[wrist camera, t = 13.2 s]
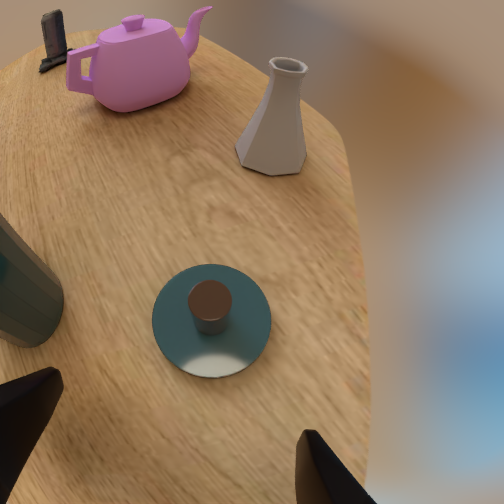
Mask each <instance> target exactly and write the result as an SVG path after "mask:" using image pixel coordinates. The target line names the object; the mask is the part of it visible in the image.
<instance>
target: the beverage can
mask: <svg viewBox="0 0 504 504" xmlns="http://www.w3.org/2000/svg"><path fill="white" fill-rule="evenodd" d="M41 24H42V30H43V36H44V42H45V48H46V53H47V58H45V59H43V60H42V64H41V65H40V68H39V70H40V71H39V72H43V71H45V70H48V68H49V67H52V66H54V65H55V64H57V65H58V63H60V64H62V63H64V61H65V60H66V61H67V52H69V51H72V50H73V49H72V48H71V49H68V50H67V43H66V38H65V31H64V23H63V14H62V12H61V11H60V10H55V11H52V12H50V13H47V14H45V15H43V17H42V20H41ZM74 50H75V49H74Z"/></svg>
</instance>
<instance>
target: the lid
mask: <svg viewBox="0 0 504 504" xmlns="http://www.w3.org/2000/svg"><path fill="white" fill-rule="evenodd" d="M152 326H153V332H154V336H155V339H156V342H157V344H158V346H159V348H160V350H161V351H162V352H163V354H164V355H165V356H166V357H167V358H168V360H169V361H170V362H171V363H173V364H174V365H175V366H176V367H178V368H179V369H181V370H183V371H184V372H187V373H189V374H191V375H194V376H198V377H203V378H222V377H227V376H231V375H233V374H236V373H238V372H240V371H242V370H244V369H245V368H247V367H248V366H249V365H251V364H252V363H253V362H254V361H255V360H256V359H257V358H258V357H259V355H260V354H261V352H262V351H263V349H264V347H265V346H266V344H267V341H268V338H269V335H270V330H271V313H270V308H269V305H268V302H267V299H266V297H265V295H264V294H263V292H262V291H261V289H260V288H259V286H258V285H257V284H256V283H255V282H254V281H253V280H252V279H251V278H249V277H248V276H247V275H245V274H244V273H242V272H240V271H238V270H236V269H234V268H231V267H228V266H224V265H217V264H205V265H199V266H194V267H191V268H188V269H186V270H184V271H182V272H180V273H179V274H177V275H176V276H174V277H173V278H172V279H171V280H169V281H168V283H167V284H166V285H165V286H164V287H163V289H162V290H161V291H160V293H159V295H158V297H157V299H156V302H155V305H154V309H153V315H152Z"/></svg>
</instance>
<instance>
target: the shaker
mask: <svg viewBox="0 0 504 504" xmlns="http://www.w3.org/2000/svg"><path fill="white" fill-rule="evenodd" d="M62 308H63V292H62V288H61V285H60V282H59V280H58V278H57V277H56V275H55V274H54V273H53V272H52V271H51V270H50V269H49V268H48V267H47V266H46V265H45V263H44V262H43V261H42V260H41V259H40V258H39V257H38V256H37V255H36V254H35V253H34V252H33V251H32V250H31V248H30V247H29V246H28V245H27V244H26V243H25V242H24V241H23V239H22V238H21V237H20V236H19V235H18V234H17V233H16V231H15V230H14V229H13V228H12V227H11V225H10V224H9V223H8V222H7V221H6V219H5V218H4V217H3V216H2V214H1V213H0V338H2V339H4V340H6V341H8V342H10V343H12V344H14V345H17V346H19V347H23V348H32V347H36V346H38V345H40V344H42V343H43V342H45V341H46V340H47V339H48V338H49V337H50V336H51V335H52V333H53V332H54V330H55V329H56V327H57V325H58V323H59V320H60V317H61V313H62Z"/></svg>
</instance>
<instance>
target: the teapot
mask: <svg viewBox="0 0 504 504" xmlns="http://www.w3.org/2000/svg"><path fill="white" fill-rule="evenodd" d="M212 7H213V6H208V7H204V8H201V9H199V10H196V11H195V12H194V13H193V14H192V15H191V17H190V19H189V21H188V25H187V29H186V32H185V34H184V36H183V37H182V38H181V39H180V38H179V36H178V34H177V33H176V31H175V29H174V28H173V26H172V25H171V24H170V23H168V22H167V21H164V20H160V19H144V17H145V15H132V16H128V17H126V18H124V19H122V20H121V22H122V24H121V25H118V26H115V27H112V28H109V29H107V30H105V31H103V32H101V33H100V35H99V36H98V38H97V41H96V43H95V44H91V45H88V46H85V47H81V48H78V49H75V50H72V51H69V52H67V69H66V86H67V88H68V90H69V91H75V92H80V93H86V94H91V95H93V96H94V97H95V99H97V100H98V101H99V102H100V103H101V104H103V105H104V106H106V107H107V108H109V109H111V110H113V111H116V112H131V111H135V110H139V109H142V108H145V107H148V106H151V105H154V104H157V103H160V102H162V101H165V100H167V99H170V98H172V97H174V96H176V95H177V94H179V93H180V92H181V91H182V89H183V88H184V87H185V85H186V84H187V82H188V81H189V78H190V66H189V60H188V59H189V58H190V57H191V56H192V55H193V54H194V52H195V51H196V48H197V46H198V41H199V28H200V22H201V20H202V17H203V16H204V15H205V14H206V13H207V12H208V11H209V10H210V9H211V8H212ZM87 57H92V58H91V62H90V70H89V77H87V76H81V60H80V59H82V58H87Z"/></svg>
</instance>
